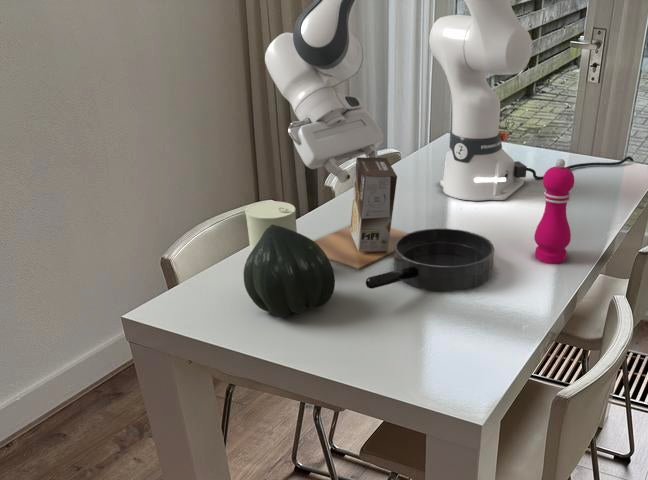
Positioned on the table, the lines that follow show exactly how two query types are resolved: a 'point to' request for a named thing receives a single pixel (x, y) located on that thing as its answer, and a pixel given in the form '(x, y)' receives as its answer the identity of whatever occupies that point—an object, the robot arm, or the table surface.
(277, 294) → the squash
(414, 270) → the pan handle
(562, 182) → the pepper mill
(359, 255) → the wooden board
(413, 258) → the pan
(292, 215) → the can
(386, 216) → the coffee box
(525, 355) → the table surface
